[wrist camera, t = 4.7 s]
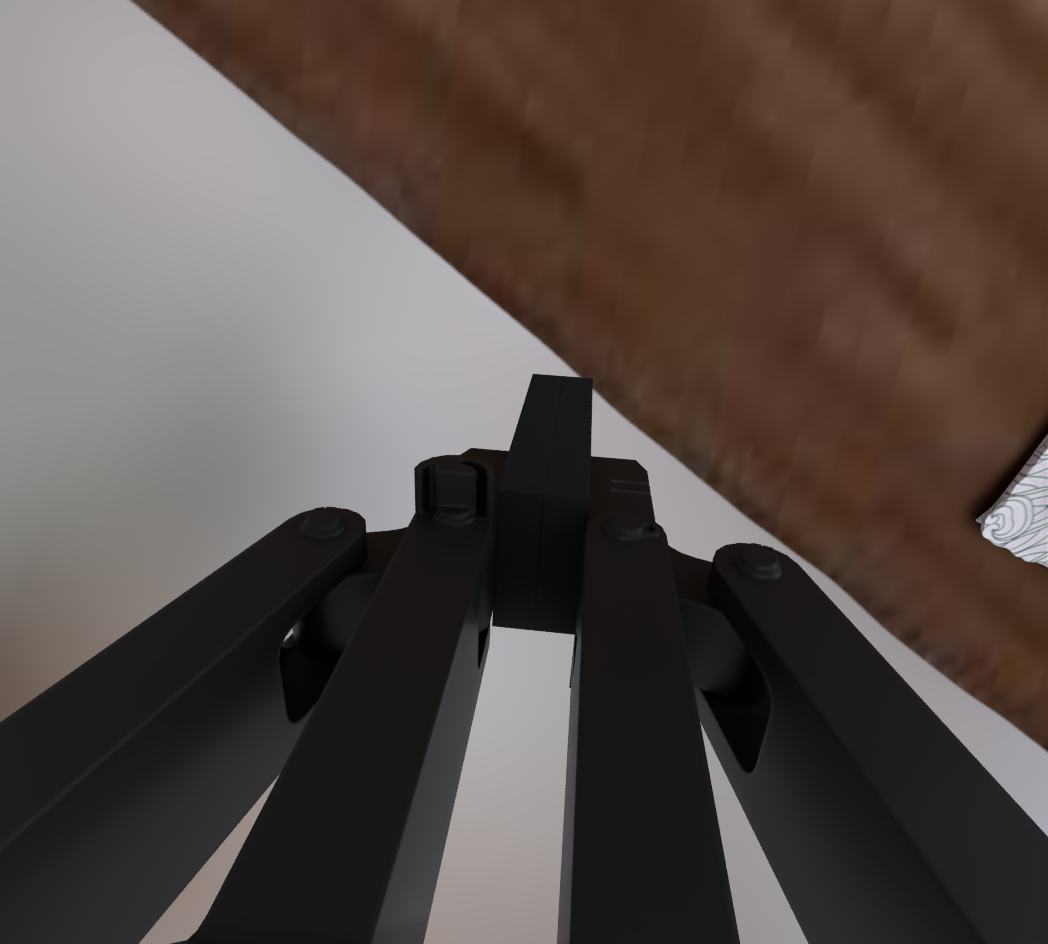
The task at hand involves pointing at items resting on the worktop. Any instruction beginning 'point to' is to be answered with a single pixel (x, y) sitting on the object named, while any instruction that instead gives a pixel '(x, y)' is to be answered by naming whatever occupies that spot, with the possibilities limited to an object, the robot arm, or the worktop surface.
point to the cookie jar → (1022, 511)
